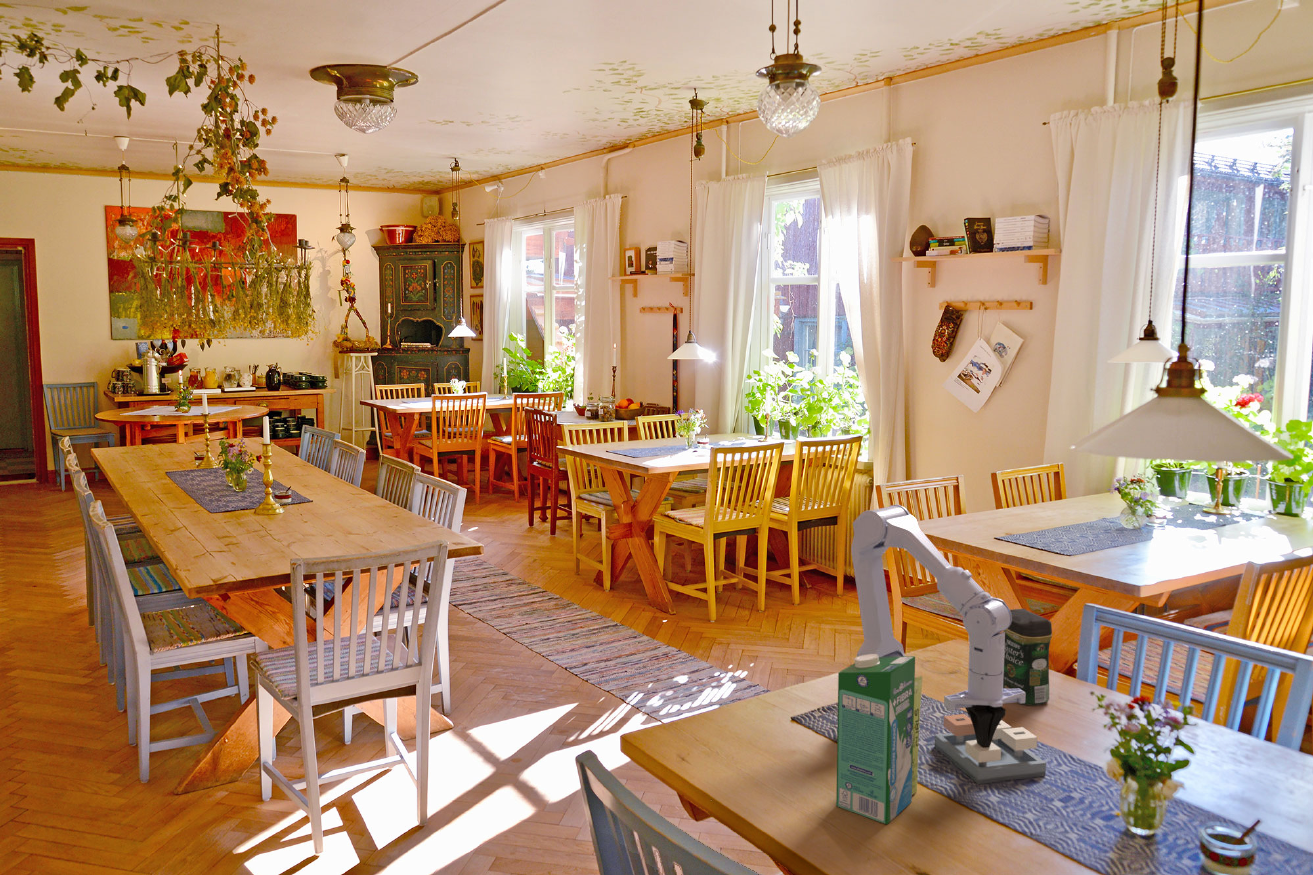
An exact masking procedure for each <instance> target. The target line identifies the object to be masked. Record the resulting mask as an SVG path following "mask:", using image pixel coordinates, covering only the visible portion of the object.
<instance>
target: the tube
mask: <svg viewBox="0 0 1313 875" xmlns="http://www.w3.org/2000/svg"><path fill="white" fill-rule="evenodd" d="M922 687H923V676H922V675H920V676H919V675H918V676H915V685H914V724H913V762H912V796H913V795H915V794H916V793H917V791H918V773H919V772H918V771H919V770H918V769H919V768H918V767H919V740H920V738H919V737H920V722H921V721H920V717H921V704H922V703H921V701H922Z"/></svg>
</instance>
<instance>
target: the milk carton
mask: <svg viewBox="0 0 1313 875" xmlns="http://www.w3.org/2000/svg"><path fill="white" fill-rule="evenodd" d="M853 660H854V663H853V664H851V665H849V666H848V667H846V668H844V669H842V670H841V671H839V672H838V674H837V676H838V678H837V680H838V681H837V683H838V684H837V732H836V733H837V735H836V736H837V742H836V745H837V746H836V793H835V794H836V802H835V805H836V807H838V808H841V809H843V810H846V811H849V812H851V813H854V814H857V815H860V816H862V817H865V818H867V819H871V820H873V821H877V822H879V823H882V824H884V825H888V824H889V823H890V822H892V820H894V818H896V817H897V816H898V815H899V814H900V813H902V811H904V810H905V808H907V807H908V806H909V805H910V804H911V803H912V800H913V795H912V762H913V724H914V685H915V677H916V674H915V673H916V656H911V655H910V656H909V655H907V656H906V655H905V656H904V657H878V655H877V654H866V655H861V656H858V657H857V656H856V657H854V658H853Z"/></svg>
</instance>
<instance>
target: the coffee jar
mask: <svg viewBox="0 0 1313 875" xmlns="http://www.w3.org/2000/svg"><path fill="white" fill-rule="evenodd" d="M1010 611H1011V615H1012V621H1011V624H1010V626H1009V627H1008V628H1007V629H1006V630H1004V631H1003V632H1005V648H1004V674H1003V689H1018V688H1019V689H1021V690H1022V691H1024V692H1025V693H1026V696H1025V703H1018V702H1016V703H1017V704H1020V705H1026V706H1036V707H1037V706H1042V705H1044V704H1046V703H1048V702H1049V700H1050V657H1049V656H1050V644H1051V640H1052V638H1053V629H1052V628H1053V627H1052V626H1053V625H1052V621H1051V620H1049V619H1047V618H1045V617H1043V616H1041V615H1038V614H1036V613H1033V612H1032V611H1029V610H1027V609H1026V608H1015V609H1010Z"/></svg>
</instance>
